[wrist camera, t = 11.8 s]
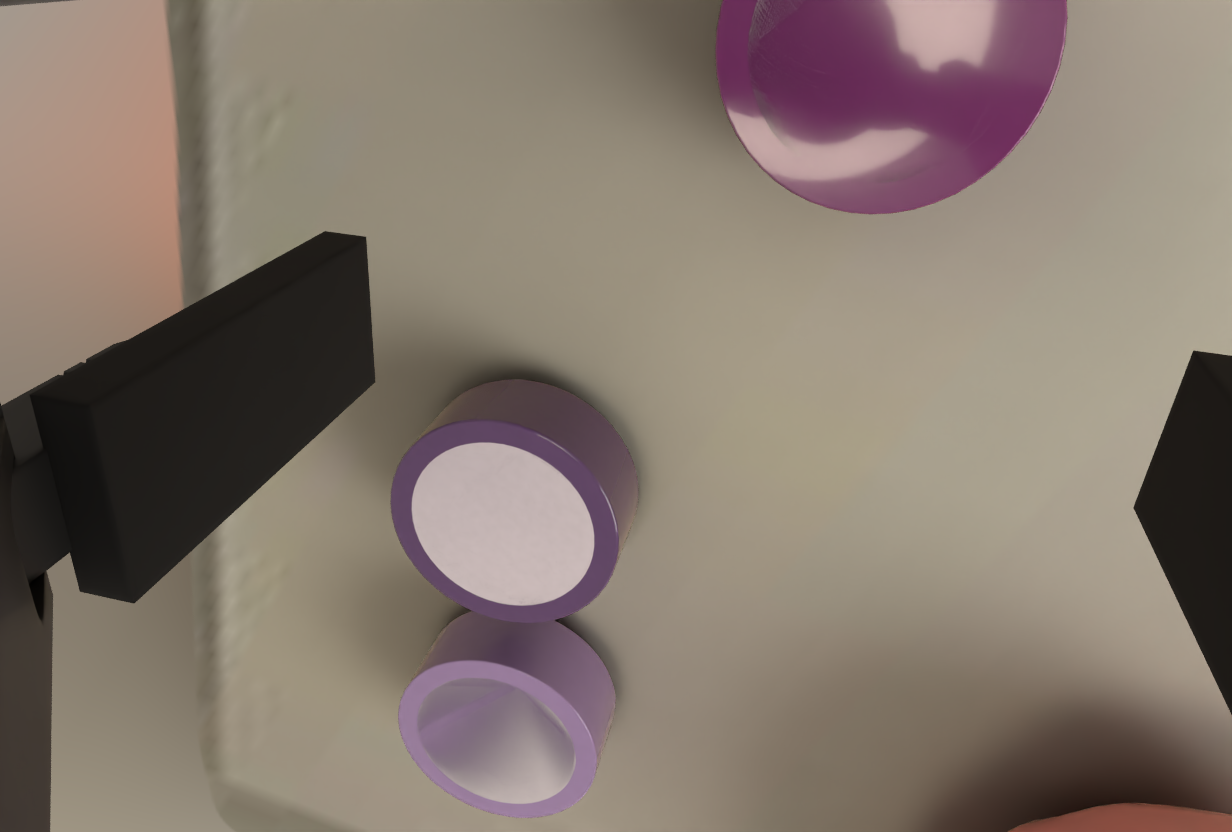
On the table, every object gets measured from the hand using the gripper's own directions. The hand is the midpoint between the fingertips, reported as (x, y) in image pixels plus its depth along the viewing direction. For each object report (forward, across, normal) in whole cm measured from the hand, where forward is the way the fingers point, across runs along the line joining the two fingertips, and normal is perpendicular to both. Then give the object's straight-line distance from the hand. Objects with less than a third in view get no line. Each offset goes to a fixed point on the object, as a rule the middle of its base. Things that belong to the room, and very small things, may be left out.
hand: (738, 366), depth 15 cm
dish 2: (+14, +2, +4) cm, 15 cm away
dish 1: (+14, -8, -22) cm, 27 cm away
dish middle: (+14, -8, -12) cm, 20 cm away
